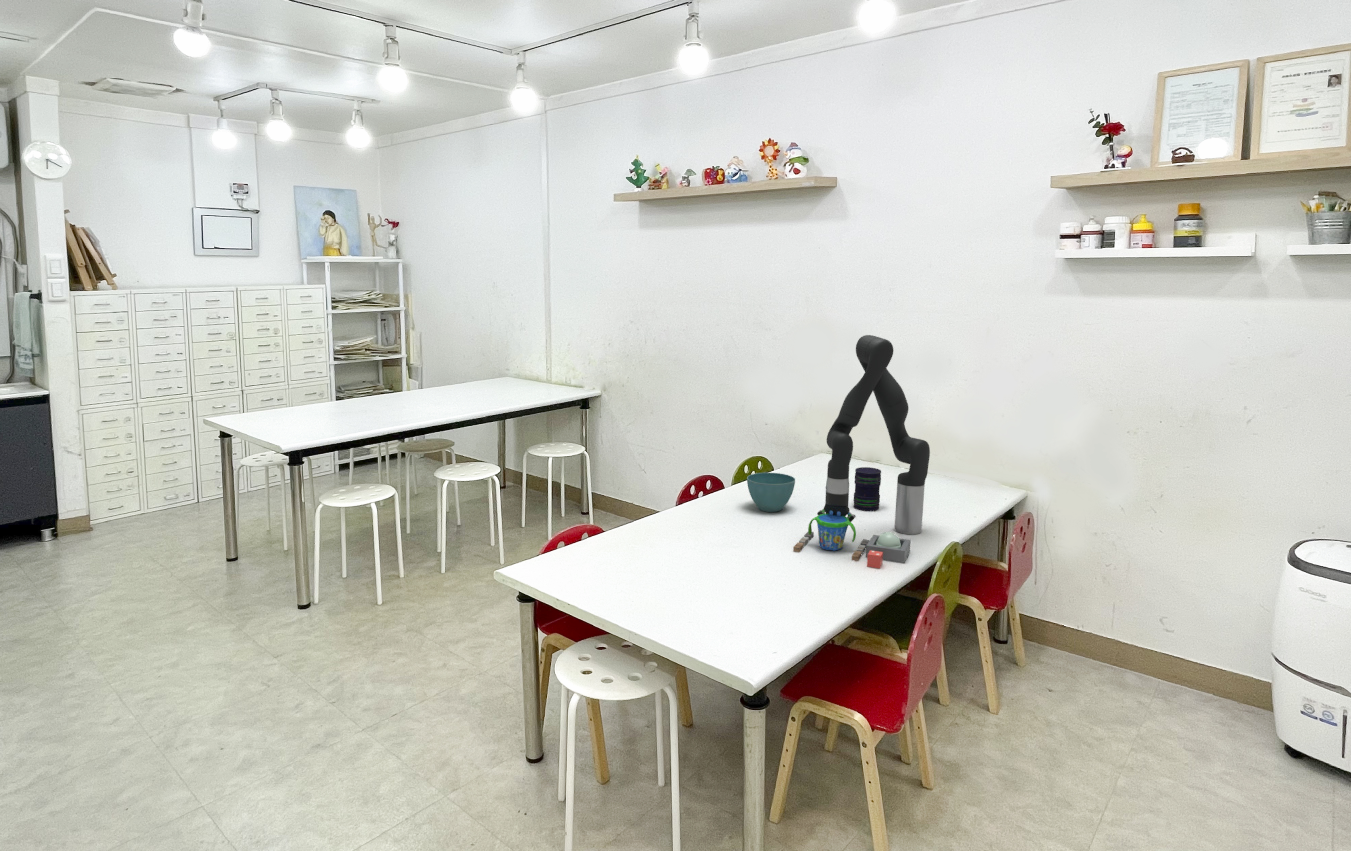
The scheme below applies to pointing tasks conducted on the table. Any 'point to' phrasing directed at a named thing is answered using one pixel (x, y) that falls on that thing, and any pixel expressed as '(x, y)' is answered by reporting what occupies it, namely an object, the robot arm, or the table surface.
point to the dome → (889, 540)
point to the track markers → (807, 536)
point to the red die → (874, 559)
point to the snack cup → (832, 531)
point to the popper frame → (890, 550)
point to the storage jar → (867, 489)
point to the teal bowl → (770, 490)
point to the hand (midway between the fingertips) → (835, 540)
